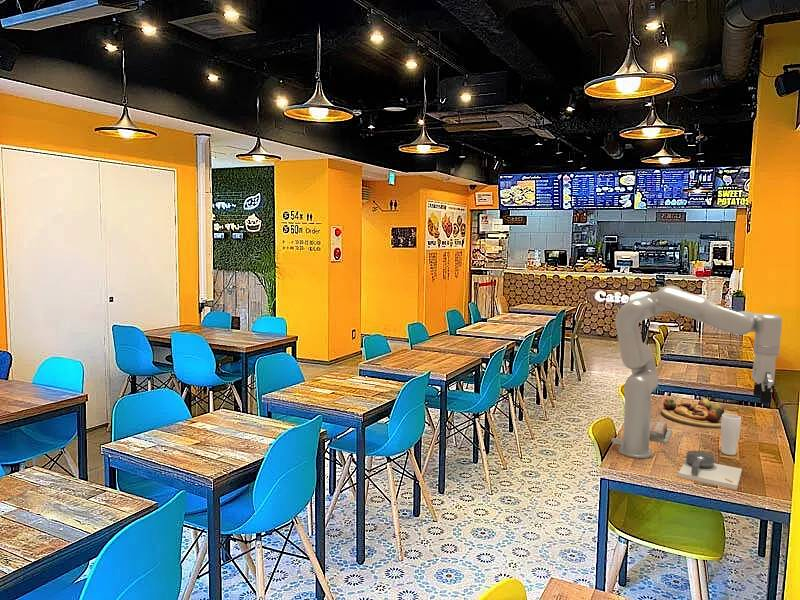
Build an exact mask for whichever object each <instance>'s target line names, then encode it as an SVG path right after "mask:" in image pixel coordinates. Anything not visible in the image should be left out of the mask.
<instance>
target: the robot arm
mask: <svg viewBox="0 0 800 600" xmlns="http://www.w3.org/2000/svg"><path fill="white" fill-rule="evenodd" d="M668 311H669V312H672V313H675V314H679V315H682V316H684V317H688V318H691V319H693V320H696V321H698V322H700V323H703V324H705V325H708V326H710V327H712V328H715V329H718V330H720V331H723V332H727V333H730V334H733V335H736V336H737V335H738V336H744V335H747V334H749V333H754V340H753V341H754V342H753V354H754V358H753V365H752V373H751V379H752V380H753V382H754V384H753V396H755V397H760V398H759V402H760V403H761V404H772V399H773V398H772V397H773V385H774V384H775V379H776V378H775V377H776V363H777V362H776V361H777V360H776V358H777V357H780V349H781V348H780V347H781V339H782V338H781V336H782V328H783V327H782V325H783V318H782V316H781V315H779V314H773V313H756V312H753V311H752V312H751V311H748V310H747V311H746V310H743V311H742V310H741V311H735V310H732V309H728V308H725V307H723V306H720V305H718V304H715V303H714V302H713V301H711V300H710V299H708V298H707V297H704V296H701V295H698V294H695V293H692V292H688V291H685V290H683V289H681V288H680V287H679V286H677V285H667V286H663V287H661V288H659V289H658V290H657V291H655V292H652V293H650V294H647V295H645V296H641V297H638V298H634V299H631V300H629V301H628V302H626V303H625V304H623V305H622V306H621V307H620V308H619V309H618V310H617V313H616V314H615V315H616V316H615V320H614V322H615V329H616V330H615V331H616V334H617V339H618V340H617V341H618V344H619V345H618V346H619V350H620V357H621V361H622V364H623V366H624V367H626V368H627V369H629V370H631V374H630V375H629V376H628V377H627V379H626V380H625V382H624V387H623V388H624V389H623V390H624V413H623V415H624V416H623V433H622V438H616V437H611V441H610V442H611V443H612V444H613V445H616V446H617V445H618V448H617V451H618V452H619V453H620V454H622V455H624V456H625V457H630V458H633V459H634V458H635V459H649V458H651V457H653V456H654V455H653V454H654V453H653V450H652V449H650V441H649V437H650V423H651V420H652V419H651V418H652V393H653V392H654V391H656V389H657V388H658V386H659V376H658V371H657V366H656V362H655V361H656V360H655V356H654V353H653V350H652V348H651V347H650V346H649V345H648V344H646V343H644V342H643V339H642V333H641V329H640V327H639V324H640V322H642V321H645V320H648V319H651V318H653V317H655V316H657V315H658V316H659V315H660V314H662V313H665V312H668Z"/></svg>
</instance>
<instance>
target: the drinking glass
mask: <svg viewBox="0 0 800 600" xmlns="http://www.w3.org/2000/svg"><path fill="white" fill-rule="evenodd" d="M741 425H742V417H741V416H740V415H738V414H733V413H728V414H722V418H721V428H720V441H721V442H720V443H721V445H720V452H721V454H724V455H726V456H736V455H737V450H738V446H739V445H738V444H739V439H740V434H741V428H742V426H741Z"/></svg>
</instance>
